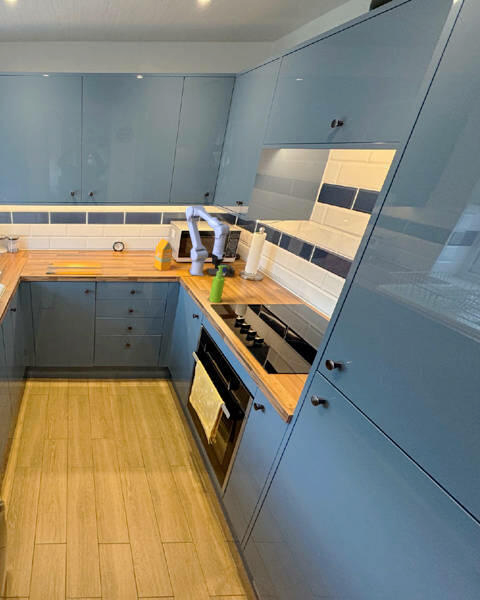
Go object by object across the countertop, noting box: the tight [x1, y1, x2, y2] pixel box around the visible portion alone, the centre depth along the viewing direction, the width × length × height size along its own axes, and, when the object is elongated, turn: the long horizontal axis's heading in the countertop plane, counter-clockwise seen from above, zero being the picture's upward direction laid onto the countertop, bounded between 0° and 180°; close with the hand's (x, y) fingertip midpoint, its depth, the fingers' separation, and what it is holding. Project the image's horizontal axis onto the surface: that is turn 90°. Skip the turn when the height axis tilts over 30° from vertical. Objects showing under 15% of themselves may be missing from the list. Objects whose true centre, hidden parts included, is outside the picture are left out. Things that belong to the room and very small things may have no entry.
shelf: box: [205, 264, 236, 278], centre depth 214 cm, size 11×15×4 cm
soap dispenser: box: [208, 265, 229, 304], centre depth 174 cm, size 6×7×20 cm
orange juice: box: [153, 238, 174, 272], centre depth 221 cm, size 8×9×20 cm
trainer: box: [218, 263, 230, 275], centre depth 212 cm, size 11×5×4 cm, turn 147°
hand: (215, 266), depth 200 cm, fingers open, 7 cm apart
